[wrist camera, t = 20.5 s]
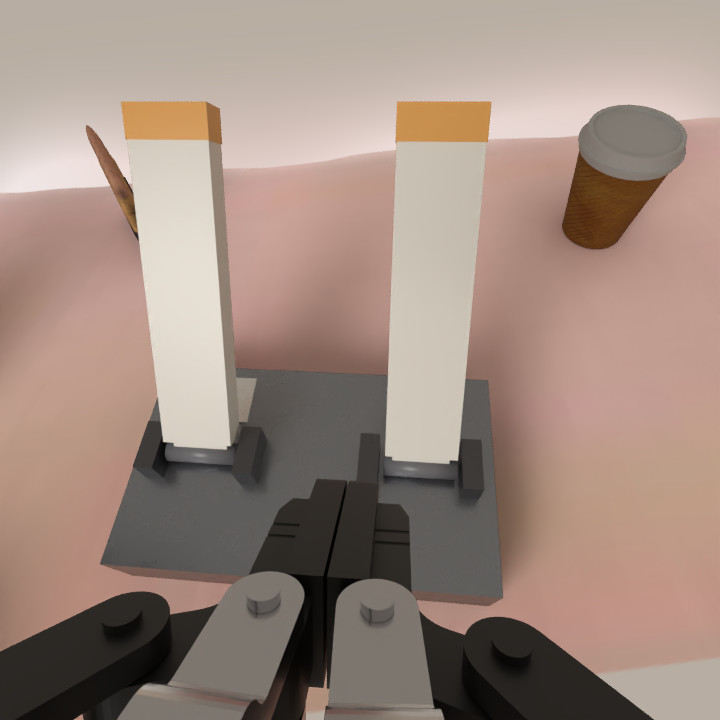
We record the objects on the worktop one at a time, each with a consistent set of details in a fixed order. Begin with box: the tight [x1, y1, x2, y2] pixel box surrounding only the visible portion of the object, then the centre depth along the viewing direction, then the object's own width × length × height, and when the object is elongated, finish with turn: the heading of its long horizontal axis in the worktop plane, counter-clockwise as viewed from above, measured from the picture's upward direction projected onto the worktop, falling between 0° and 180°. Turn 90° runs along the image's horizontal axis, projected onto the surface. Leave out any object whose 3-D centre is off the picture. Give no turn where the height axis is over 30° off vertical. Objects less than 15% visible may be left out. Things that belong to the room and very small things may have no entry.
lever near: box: [383, 102, 491, 480], centre depth 31 cm, size 2×5×24 cm
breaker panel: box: [100, 368, 503, 606], centre depth 37 cm, size 16×27×7 cm, turn 85°
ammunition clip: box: [86, 126, 139, 241], centre depth 52 cm, size 11×2×12 cm, turn 31°
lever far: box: [121, 102, 240, 465], centre depth 32 cm, size 2×5×24 cm
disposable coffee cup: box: [562, 105, 687, 249], centre depth 49 cm, size 10×10×12 cm
